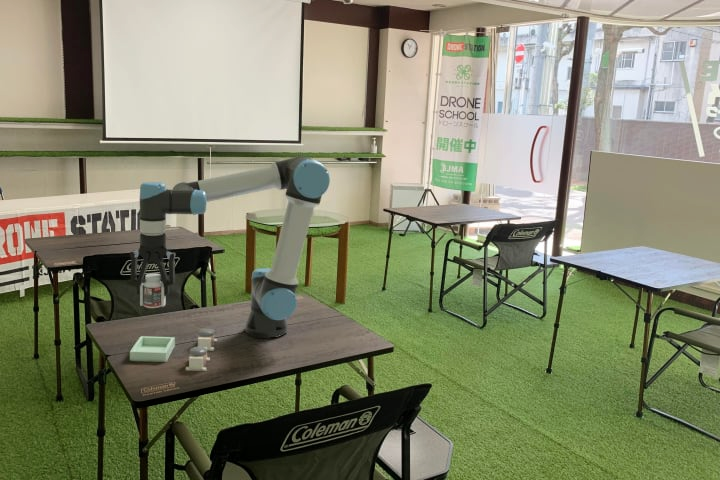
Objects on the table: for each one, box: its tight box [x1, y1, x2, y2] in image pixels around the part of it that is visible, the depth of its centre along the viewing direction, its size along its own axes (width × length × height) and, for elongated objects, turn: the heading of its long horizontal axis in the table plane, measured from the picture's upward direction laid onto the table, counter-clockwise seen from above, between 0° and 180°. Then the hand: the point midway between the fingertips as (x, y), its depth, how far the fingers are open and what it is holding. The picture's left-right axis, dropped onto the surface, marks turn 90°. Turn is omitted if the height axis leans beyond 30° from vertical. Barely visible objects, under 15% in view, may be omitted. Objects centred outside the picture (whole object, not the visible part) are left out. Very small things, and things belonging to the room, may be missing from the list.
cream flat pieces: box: [185, 336, 218, 372], centre depth 202 cm, size 6×24×4 cm, turn 5°
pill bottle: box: [143, 272, 163, 309], centre depth 196 cm, size 6×6×10 cm
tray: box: [129, 335, 176, 363], centre depth 200 cm, size 11×13×3 cm
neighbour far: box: [198, 328, 216, 347], centre depth 209 cm, size 5×5×5 cm
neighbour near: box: [189, 346, 208, 367], centre depth 194 cm, size 5×5×5 cm
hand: (153, 304), depth 197 cm, fingers closed on pill bottle, 6 cm apart
